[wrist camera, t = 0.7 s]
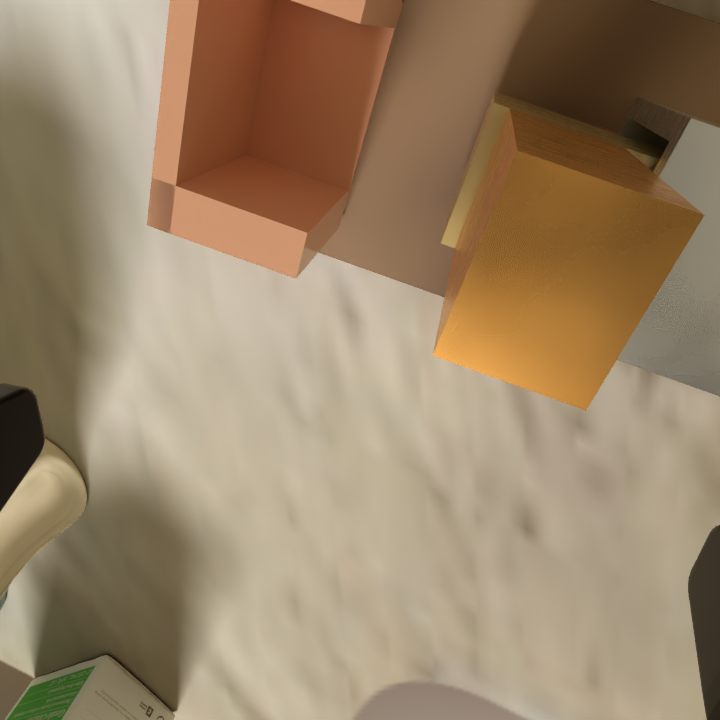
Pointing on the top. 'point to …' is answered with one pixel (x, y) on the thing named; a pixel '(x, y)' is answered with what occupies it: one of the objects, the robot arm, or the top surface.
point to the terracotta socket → (265, 122)
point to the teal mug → (2, 600)
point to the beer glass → (39, 510)
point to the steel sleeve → (697, 261)
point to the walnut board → (511, 78)
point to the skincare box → (89, 695)
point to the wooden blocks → (555, 250)
